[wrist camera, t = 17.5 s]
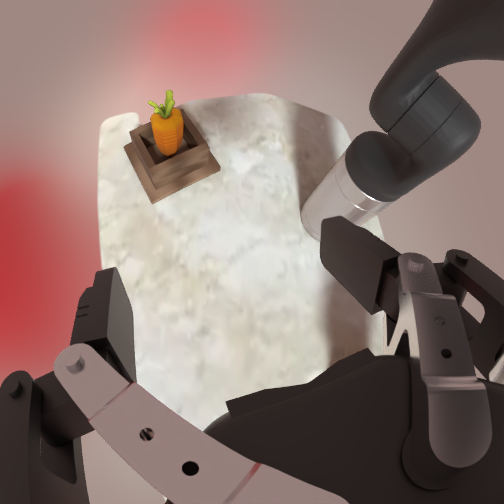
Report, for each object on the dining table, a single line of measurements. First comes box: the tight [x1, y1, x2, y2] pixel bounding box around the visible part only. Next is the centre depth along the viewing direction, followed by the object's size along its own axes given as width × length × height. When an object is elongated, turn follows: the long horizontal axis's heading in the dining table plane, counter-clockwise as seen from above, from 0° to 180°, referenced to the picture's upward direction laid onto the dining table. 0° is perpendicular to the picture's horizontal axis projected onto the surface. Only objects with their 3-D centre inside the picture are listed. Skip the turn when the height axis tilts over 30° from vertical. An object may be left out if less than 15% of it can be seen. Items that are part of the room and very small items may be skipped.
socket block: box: [124, 109, 220, 204], centre depth 45 cm, size 13×13×6 cm
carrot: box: [148, 90, 183, 158], centre depth 40 cm, size 5×5×15 cm
